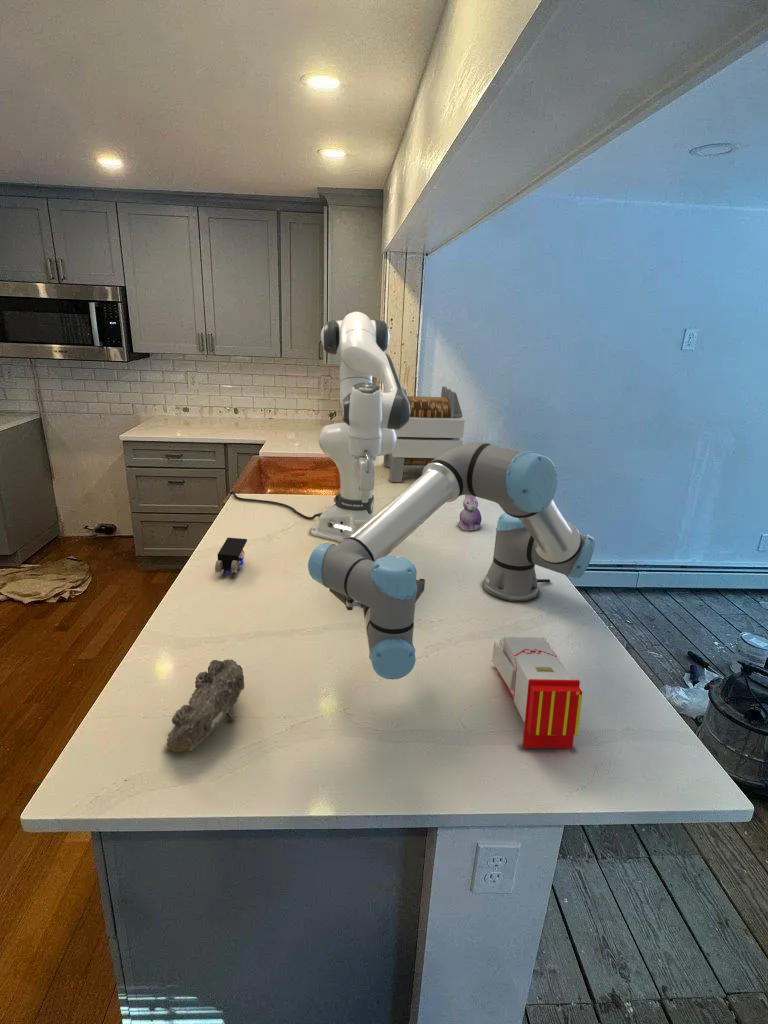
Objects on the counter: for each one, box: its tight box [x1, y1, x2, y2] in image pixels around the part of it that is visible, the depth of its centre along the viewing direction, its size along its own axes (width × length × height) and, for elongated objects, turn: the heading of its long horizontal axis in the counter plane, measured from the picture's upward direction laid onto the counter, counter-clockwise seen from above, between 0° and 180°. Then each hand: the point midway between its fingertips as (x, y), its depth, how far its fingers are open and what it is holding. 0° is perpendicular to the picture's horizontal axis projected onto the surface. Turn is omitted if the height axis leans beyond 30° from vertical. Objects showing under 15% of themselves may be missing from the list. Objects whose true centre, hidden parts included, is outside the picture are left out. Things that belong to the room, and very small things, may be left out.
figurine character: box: [214, 537, 248, 578], centre depth 166 cm, size 7×8×15 cm
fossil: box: [166, 658, 245, 754], centre depth 106 cm, size 22×10×15 cm
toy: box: [491, 636, 583, 749], centre depth 115 cm, size 12×13×30 cm
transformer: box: [383, 386, 465, 483], centre depth 268 cm, size 34×33×41 cm
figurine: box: [458, 495, 482, 532], centre depth 206 cm, size 9×10×15 cm
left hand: (363, 496), depth 154 cm, fingers open, 8 cm apart
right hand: (374, 569), depth 127 cm, fingers open, 13 cm apart
